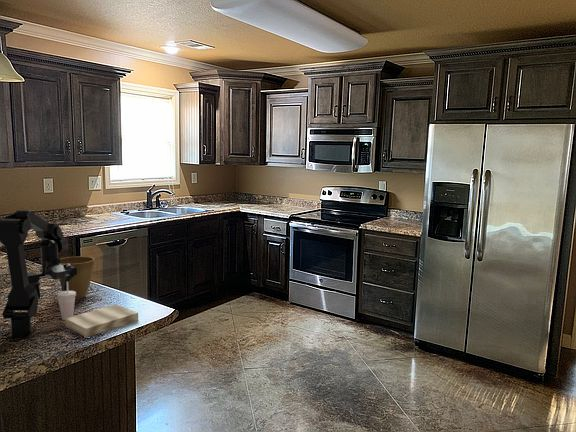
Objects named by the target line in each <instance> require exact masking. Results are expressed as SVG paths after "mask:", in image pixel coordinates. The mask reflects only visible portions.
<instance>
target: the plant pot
mask: <svg viewBox="0 0 576 432" xmlns="http://www.w3.org/2000/svg"><path fill="white" fill-rule="evenodd" d="M59 259H60V263H61V265H64V264H70V265H71V266H73V267H76V268H77V269H78V274H77V275H74V277H72V278H71V279H70V280H69V283H68V289H69V291H75V292H76V296H75V300H77V299H82V298H85V296H86V295H87V293H88V290H89V288H90V287H89V286H90V283H91V281H92V275H93V270H94V264H95V258H94V257H92V256H85V255H84V256H82V255H81V256H67V257H62V258H61V257H60V258H59ZM58 280H59V283H60V284H59V285H61V278H59V279H58ZM66 291H67V288H66Z"/></svg>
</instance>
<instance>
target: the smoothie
mask: <svg viewBox="0 0 576 432" xmlns="http://www.w3.org/2000/svg"><path fill="white" fill-rule="evenodd" d="M75 296H76V292H75V291H69V289H68V282H67V291H62V290H61V291H59V292H57V293H56V298H57V301H58V306H59V310H60V311H59V312H60V316H61V320H62V321H65V318H69V317H72V316H74V312H75V311H74V310H75V302H76V301H75V300H76V299H75Z"/></svg>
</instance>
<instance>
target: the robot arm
mask: <svg viewBox="0 0 576 432" xmlns="http://www.w3.org/2000/svg"><path fill="white" fill-rule="evenodd" d="M30 230H33V231H35V232H34V234H35V236H36V237H37V238H38V239H41V242H39V244H38V247H39V248H40V258H39V262H40V263H41V264H40V265H41V269H40V270H39V271H40V273H36V272H34V271H32V272H28V269H27V262H26V260H27V259H26V256H25V255H26V253H25V247H24V244H25V242H26V240H27V238H28V236H29V234H28V232H29V231H30ZM0 243H1V244H2V245H3V246H4V247H5V250H6V251H5V252H6V257H7V264H8V270H9V277H10V283H11V289H10V291H9V293H8V295H7V301H6V304H5V306H4V309H3V310H2V311H3V312H2V317H3V319H10V331H11V332H10V333H9V334H8V335H7V336H6V338H7V339H10V338H11V339H12V338H14V339H15V338H28V337H29V336H31V335H32V334H33V333H34V332H36V328H32V322H31V321H32V318H33V317H35V316H36V315H37V314H38V305H39V300H41V291H40V285H41V282H40V279H45V278H51V279H52V280H55V281H56V280H59V278H61V284H60V287H61V292H62V291H66V288H67V282H68V283H69V280H70V279H71V278H72V277H74V275H77V274H78V269H77V268H76V267H73V266H71V265H70V264H64V265H61V263H60V259H61V258H59V253H62V252H64V251H66V250H67V249H68V248H69V241H68V239H67V238H66V237H65V235H64V233H63V230H62V228H61V227H60V225H59V224H58V223H54V222H49V221H46V220H45V219H43V218H41V216H39V215H37V214H36V213H35V212H34V211H33V210H31V209H18V210H16V211H14V212H13V213H11V214H9V215H5V216H3V217H2V218H1V219H0Z"/></svg>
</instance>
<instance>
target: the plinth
mask: <svg viewBox="0 0 576 432" xmlns="http://www.w3.org/2000/svg"><path fill="white" fill-rule="evenodd" d="M138 321H139V312H138V311H135V310H132V309H130V308H128V307H125V306H122V305H120V304H118V303H117V304H113V305H108V306H106V307H102V308H98V309H95V310H92V311H87V312H83V313H80V314H77V315H76V314H75V315H73V316H72V317H69V318H65V320H64V323H65V324H64V326H65V327H66V328H67V329H70V330H71V331H73V332H75V333H77V334H80V335H81V336H84V337H85V338H87V337H91V336H94V335H97V334H100V333H104V332H107V331H110V330H113V329H117V328H119V327H122V326H126V325H129V324H133V323H136V322H138Z"/></svg>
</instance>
